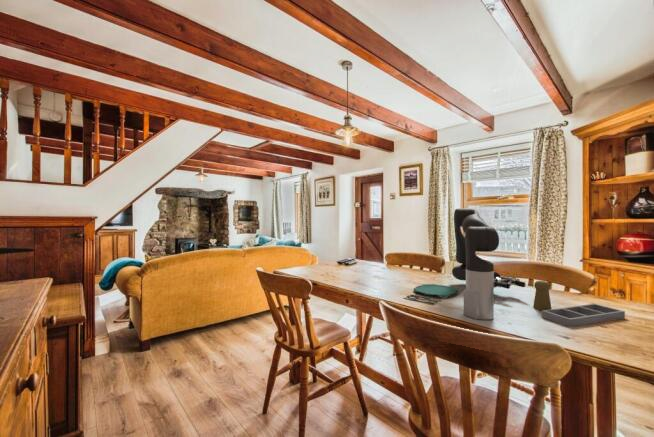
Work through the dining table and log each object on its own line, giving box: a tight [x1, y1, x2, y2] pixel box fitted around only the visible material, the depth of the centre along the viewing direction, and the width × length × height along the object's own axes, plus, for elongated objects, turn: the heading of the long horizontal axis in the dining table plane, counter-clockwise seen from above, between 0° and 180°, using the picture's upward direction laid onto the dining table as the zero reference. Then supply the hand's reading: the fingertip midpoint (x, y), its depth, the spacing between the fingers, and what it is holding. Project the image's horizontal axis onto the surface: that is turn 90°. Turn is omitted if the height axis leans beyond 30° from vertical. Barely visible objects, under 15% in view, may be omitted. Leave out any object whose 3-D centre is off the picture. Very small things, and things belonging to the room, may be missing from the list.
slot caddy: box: [541, 303, 626, 328], centre depth 107 cm, size 27×10×2 cm, turn 107°
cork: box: [532, 280, 553, 312], centre depth 117 cm, size 6×6×11 cm
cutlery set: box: [402, 283, 459, 306], centre depth 139 cm, size 20×30×2 cm, turn 135°
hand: (517, 285), depth 128 cm, fingers open, 8 cm apart
